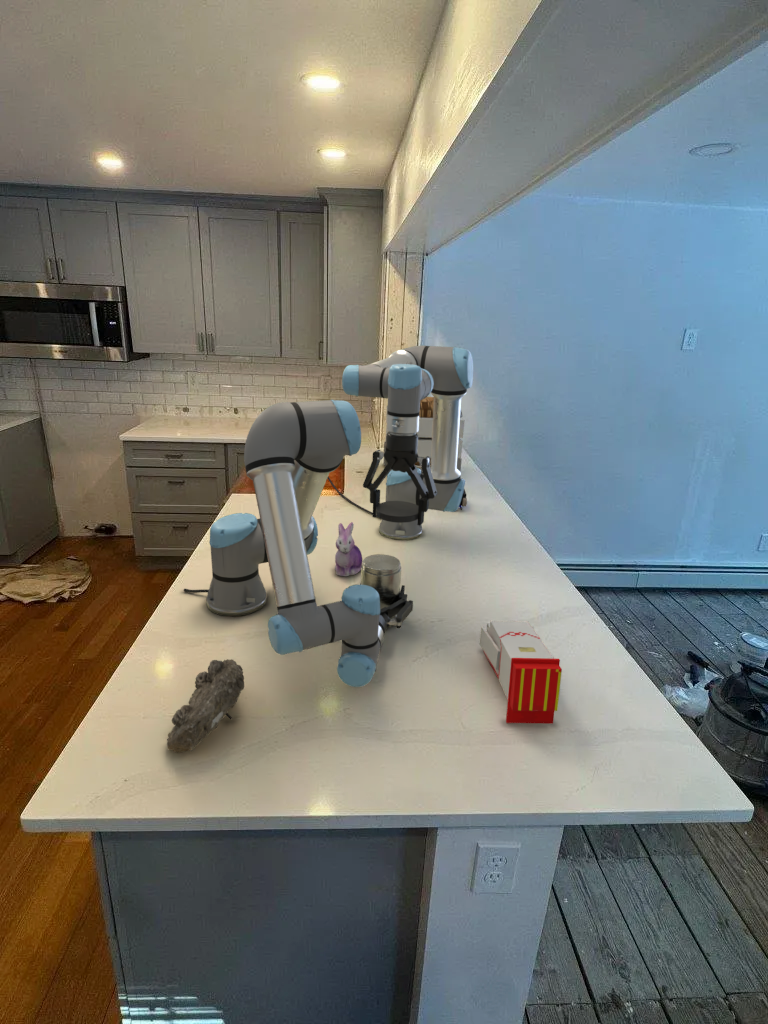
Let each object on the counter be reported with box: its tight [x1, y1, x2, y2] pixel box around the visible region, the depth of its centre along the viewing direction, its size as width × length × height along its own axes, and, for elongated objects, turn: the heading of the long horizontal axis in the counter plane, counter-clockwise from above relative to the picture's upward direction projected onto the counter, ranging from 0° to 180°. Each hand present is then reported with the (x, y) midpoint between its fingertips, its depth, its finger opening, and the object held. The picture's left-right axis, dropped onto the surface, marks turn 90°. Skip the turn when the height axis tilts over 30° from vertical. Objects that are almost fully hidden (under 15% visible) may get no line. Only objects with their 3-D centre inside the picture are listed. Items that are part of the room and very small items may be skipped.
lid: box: [375, 501, 419, 523], centre depth 140 cm, size 11×11×2 cm
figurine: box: [334, 521, 363, 577], centre depth 168 cm, size 9×10×15 cm
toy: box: [478, 620, 563, 725], centre depth 121 cm, size 12×13×30 cm
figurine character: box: [458, 488, 468, 511], centre depth 230 cm, size 7×8×15 cm
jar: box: [360, 553, 402, 629], centre depth 142 cm, size 10×10×16 cm
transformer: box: [383, 396, 465, 474], centre depth 268 cm, size 34×33×41 cm
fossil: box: [166, 658, 245, 754], centre depth 106 cm, size 22×10×15 cm
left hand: (382, 587), depth 147 cm, fingers closed on jar, 10 cm apart
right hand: (397, 519), depth 141 cm, fingers closed on lid, 11 cm apart
